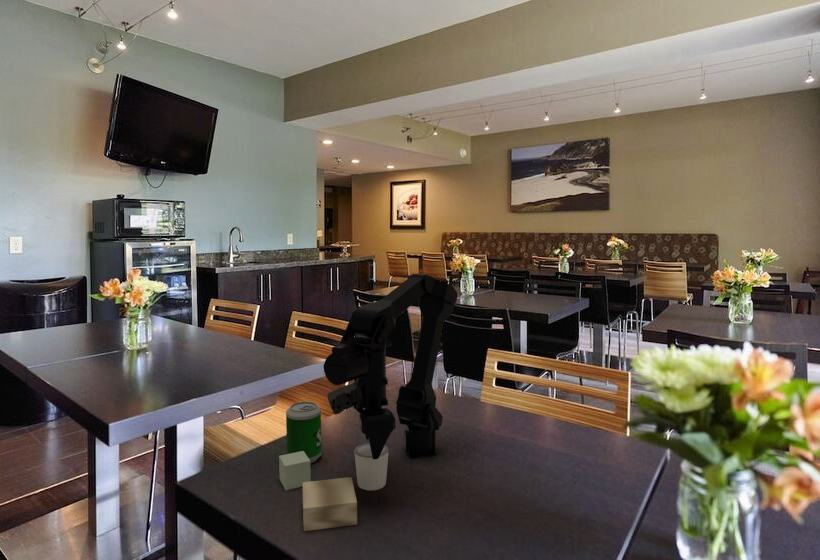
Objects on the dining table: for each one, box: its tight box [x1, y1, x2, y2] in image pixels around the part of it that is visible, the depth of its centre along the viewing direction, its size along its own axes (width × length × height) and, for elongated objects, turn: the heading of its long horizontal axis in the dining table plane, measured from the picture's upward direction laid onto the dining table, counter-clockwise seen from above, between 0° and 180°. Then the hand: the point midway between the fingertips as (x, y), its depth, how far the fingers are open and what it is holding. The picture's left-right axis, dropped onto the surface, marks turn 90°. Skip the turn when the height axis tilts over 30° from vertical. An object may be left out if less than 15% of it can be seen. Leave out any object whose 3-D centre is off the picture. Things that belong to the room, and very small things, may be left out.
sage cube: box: [278, 451, 312, 491], centre depth 100 cm, size 5×5×5 cm
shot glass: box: [353, 442, 390, 491], centre depth 99 cm, size 7×7×7 cm
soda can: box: [285, 401, 323, 464], centre depth 110 cm, size 8×8×12 cm
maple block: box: [302, 476, 358, 532], centre depth 89 cm, size 9×9×4 cm
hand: (371, 448), depth 99 cm, fingers open, 9 cm apart
